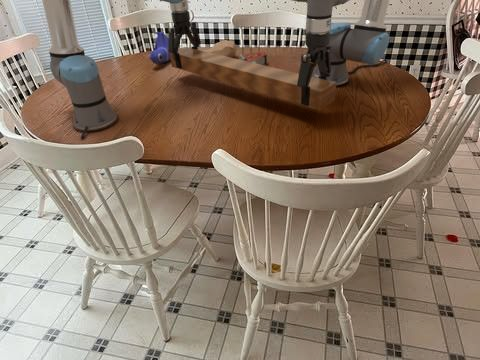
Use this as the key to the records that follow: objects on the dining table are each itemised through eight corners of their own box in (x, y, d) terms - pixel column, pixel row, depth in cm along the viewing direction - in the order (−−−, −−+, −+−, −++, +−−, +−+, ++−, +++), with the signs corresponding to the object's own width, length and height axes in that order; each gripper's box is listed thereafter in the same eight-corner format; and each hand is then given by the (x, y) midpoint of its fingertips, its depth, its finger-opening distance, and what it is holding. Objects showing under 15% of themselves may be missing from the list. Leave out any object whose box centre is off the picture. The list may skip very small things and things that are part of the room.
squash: (238, 60, 183) (235, 44, 177) (201, 68, 185) (196, 51, 179) (237, 51, 191) (234, 34, 185) (201, 58, 193) (197, 42, 186)
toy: (164, 64, 198) (143, 70, 176) (159, 31, 191) (137, 33, 169) (180, 63, 196) (162, 69, 173) (176, 30, 189) (156, 32, 167)
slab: (171, 66, 162) (169, 52, 158) (187, 61, 167) (185, 46, 164) (319, 110, 118) (321, 91, 114) (334, 100, 123) (336, 82, 119)
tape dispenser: (258, 80, 163) (278, 64, 175) (258, 69, 159) (279, 54, 172) (226, 73, 170) (248, 58, 183) (226, 62, 167) (248, 48, 179)
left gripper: (164, 17, 139) (173, 73, 153) (205, 6, 152) (210, 59, 165) (153, 15, 144) (162, 69, 157) (194, 5, 156) (199, 56, 170)
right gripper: (308, 42, 102) (304, 113, 115) (346, 25, 114) (339, 91, 127) (286, 38, 106) (285, 108, 119) (326, 22, 118) (321, 87, 132)
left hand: (187, 64), depth 161 cm, fingers closed on slab, 9 cm apart
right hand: (313, 99), depth 123 cm, fingers closed on slab, 9 cm apart
